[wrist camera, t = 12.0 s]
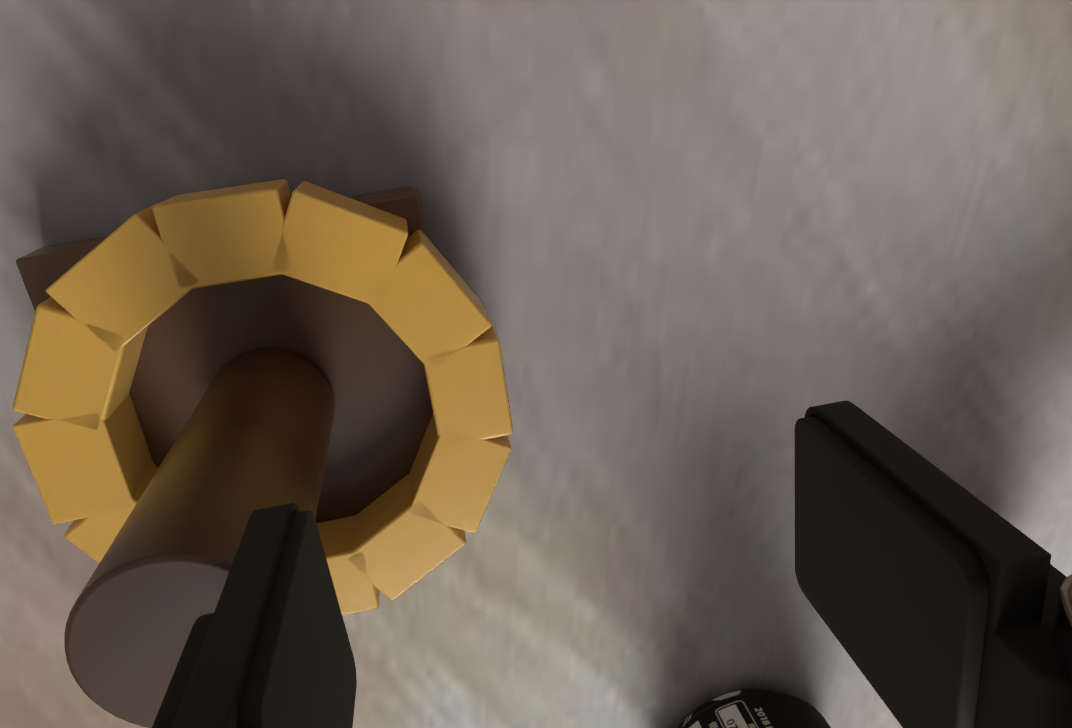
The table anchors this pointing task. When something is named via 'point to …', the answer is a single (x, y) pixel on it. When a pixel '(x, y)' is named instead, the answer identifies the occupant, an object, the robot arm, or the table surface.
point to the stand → (236, 450)
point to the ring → (249, 253)
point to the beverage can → (755, 712)
